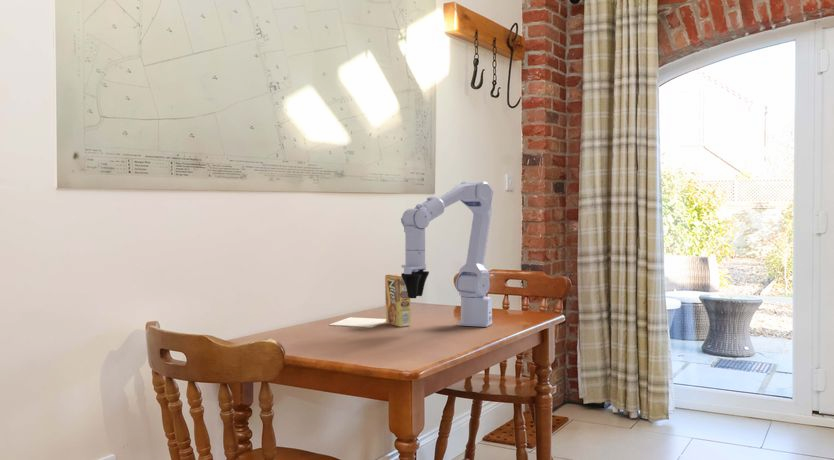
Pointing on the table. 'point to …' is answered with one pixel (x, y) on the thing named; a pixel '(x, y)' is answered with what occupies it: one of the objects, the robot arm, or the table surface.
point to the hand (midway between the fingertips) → (415, 297)
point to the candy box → (397, 301)
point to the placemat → (359, 322)
